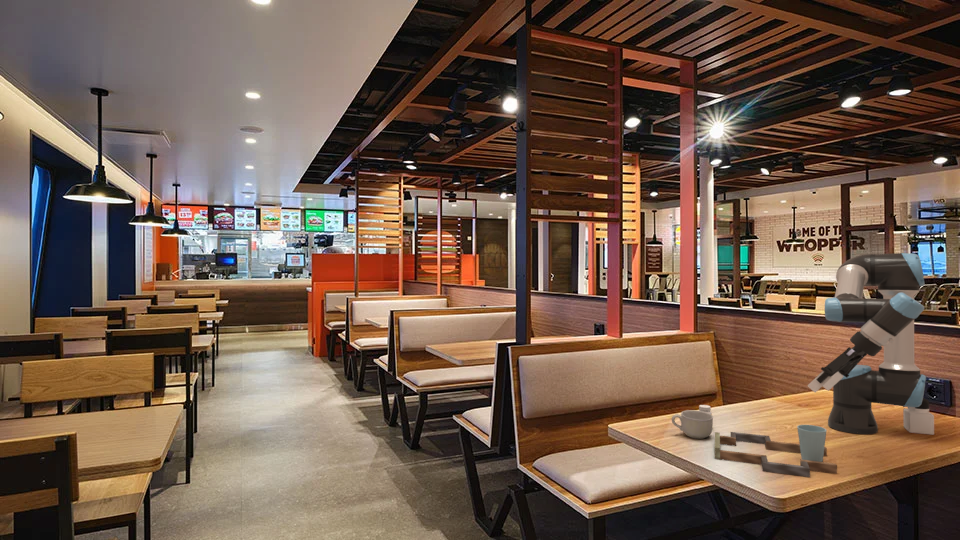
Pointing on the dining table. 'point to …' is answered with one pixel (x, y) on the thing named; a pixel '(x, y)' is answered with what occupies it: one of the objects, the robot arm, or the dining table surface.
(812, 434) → the cup
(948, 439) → the dining table surface
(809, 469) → the wooden zigzag frame
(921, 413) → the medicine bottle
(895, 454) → the dining table surface
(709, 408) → the supplement bottle
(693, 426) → the teacup
